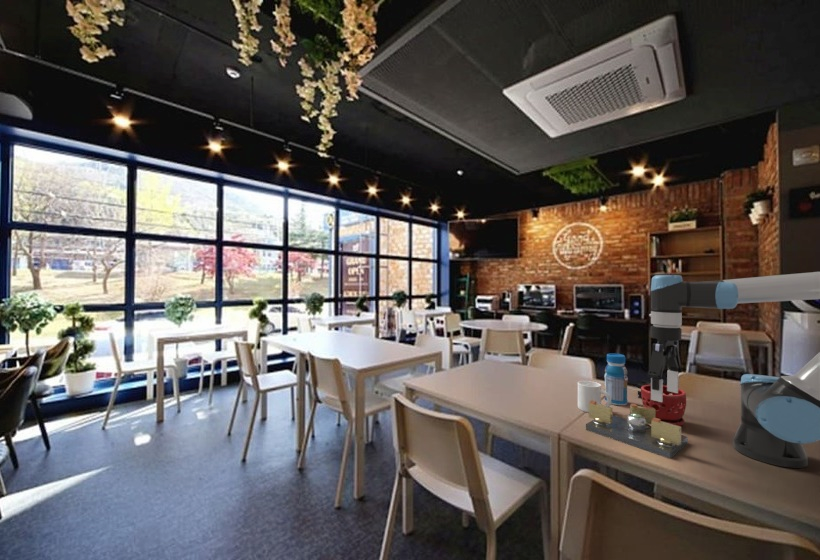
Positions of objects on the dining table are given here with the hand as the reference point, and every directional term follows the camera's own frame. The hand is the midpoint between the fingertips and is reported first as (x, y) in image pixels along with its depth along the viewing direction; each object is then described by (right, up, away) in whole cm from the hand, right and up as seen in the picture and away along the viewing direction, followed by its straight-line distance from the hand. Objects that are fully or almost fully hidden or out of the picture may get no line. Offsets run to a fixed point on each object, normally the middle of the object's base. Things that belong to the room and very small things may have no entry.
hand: (664, 396), depth 104 cm
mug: (-5, -17, +31) cm, 36 cm away
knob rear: (+2, -14, +13) cm, 19 cm away
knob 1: (-11, -14, +15) cm, 23 cm away
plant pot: (+15, -17, +21) cm, 30 cm away
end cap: (+28, -17, +47) cm, 58 cm away
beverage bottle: (+10, -17, +41) cm, 45 cm away
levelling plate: (-3, -16, +9) cm, 19 cm away
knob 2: (0, -14, 0) cm, 14 cm away
